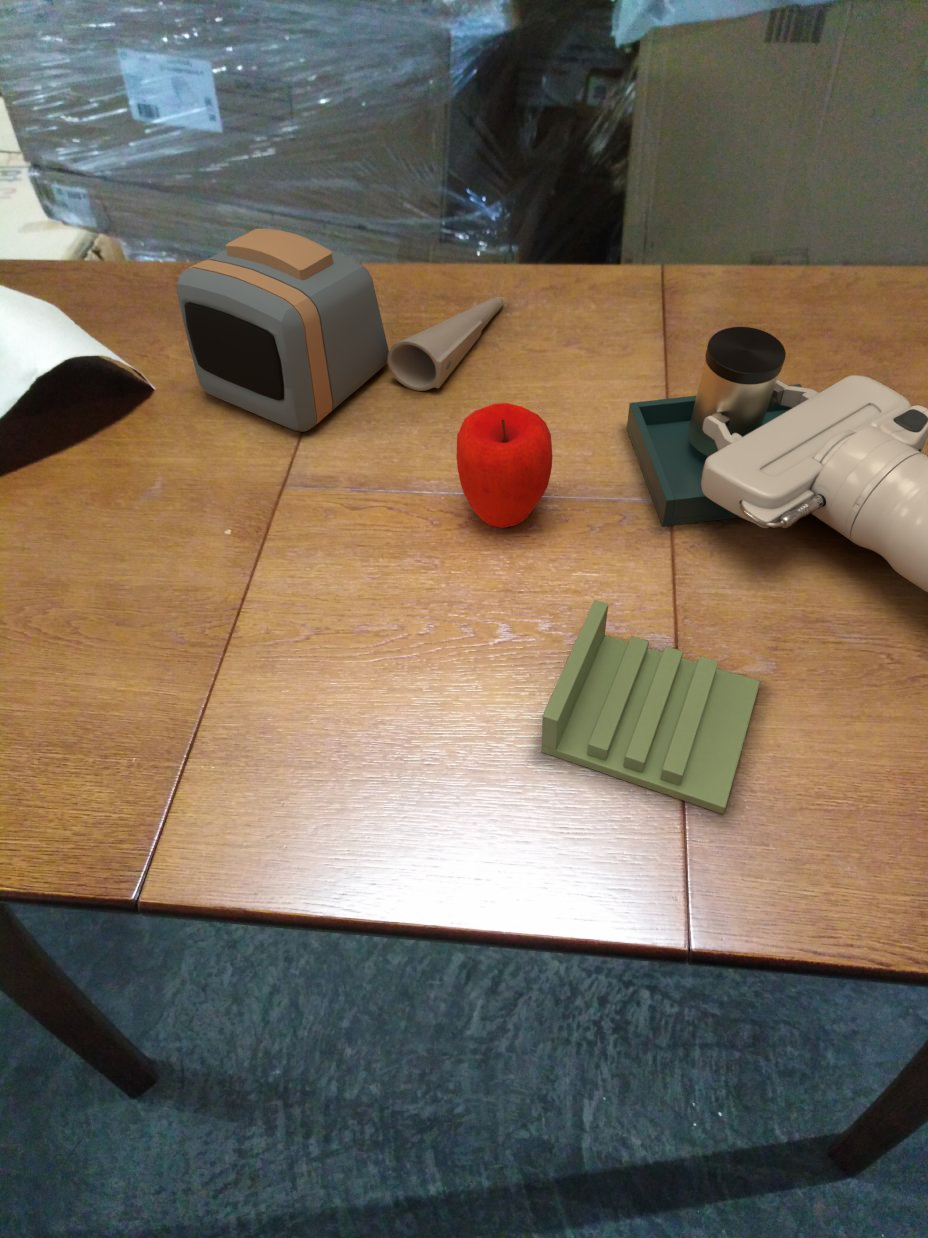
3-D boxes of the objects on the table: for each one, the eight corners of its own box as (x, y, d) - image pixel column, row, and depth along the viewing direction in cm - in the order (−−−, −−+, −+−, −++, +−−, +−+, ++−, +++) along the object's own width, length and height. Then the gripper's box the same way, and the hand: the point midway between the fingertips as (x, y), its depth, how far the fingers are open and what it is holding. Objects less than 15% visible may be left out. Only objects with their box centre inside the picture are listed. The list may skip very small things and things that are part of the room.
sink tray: (792, 410, 93) (800, 383, 91) (846, 505, 84) (856, 478, 82) (626, 428, 93) (629, 402, 90) (662, 526, 83) (666, 500, 81)
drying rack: (758, 687, 71) (771, 649, 68) (723, 814, 65) (735, 780, 61) (590, 638, 75) (594, 599, 72) (540, 752, 69) (542, 716, 65)
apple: (569, 521, 84) (574, 429, 76) (491, 558, 82) (487, 468, 74) (518, 469, 89) (517, 378, 81) (442, 503, 87) (434, 412, 79)
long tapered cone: (461, 263, 108) (388, 333, 95) (509, 278, 106) (442, 351, 94) (456, 307, 112) (386, 380, 99) (503, 322, 111) (438, 398, 98)
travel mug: (763, 423, 89) (792, 336, 81) (749, 468, 85) (777, 381, 77) (696, 406, 90) (717, 319, 82) (679, 449, 87) (699, 362, 79)
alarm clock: (195, 396, 100) (149, 262, 88) (290, 325, 108) (261, 193, 96) (307, 444, 94) (275, 307, 81) (398, 364, 102) (382, 228, 90)
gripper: (766, 561, 75) (652, 476, 83) (922, 460, 82) (804, 389, 90) (783, 507, 70) (660, 421, 78) (947, 404, 77) (820, 334, 85)
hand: (738, 403), depth 84 cm, fingers closed on travel mug, 6 cm apart
